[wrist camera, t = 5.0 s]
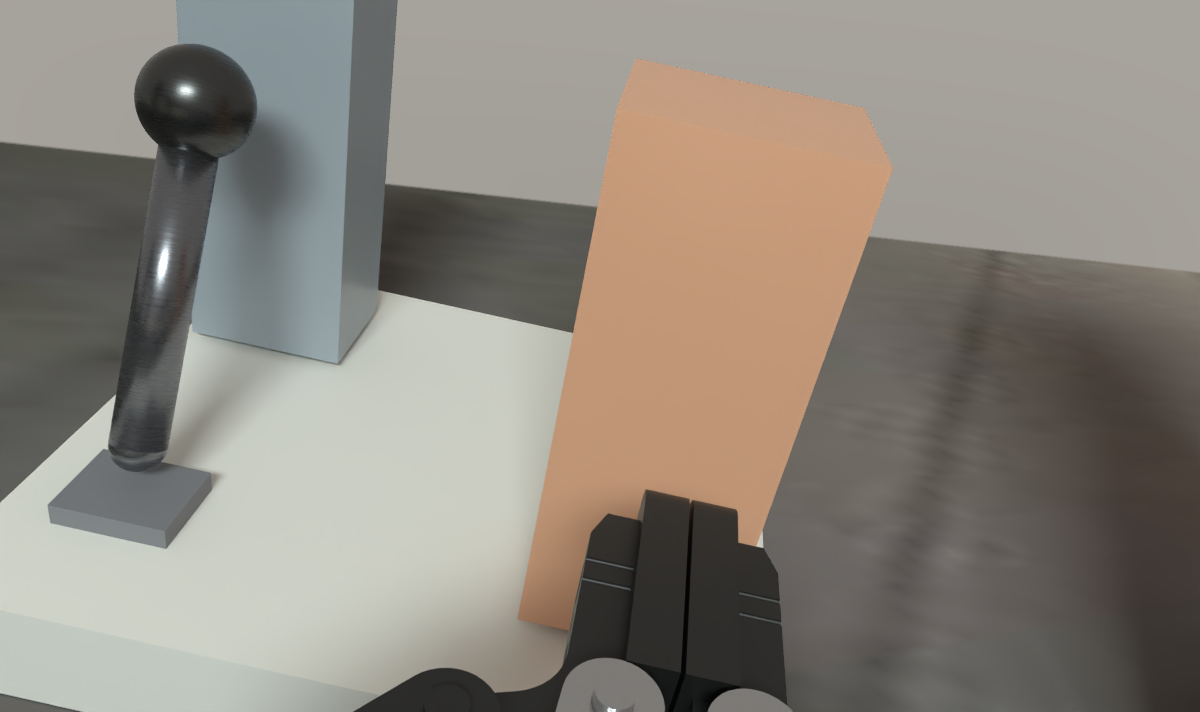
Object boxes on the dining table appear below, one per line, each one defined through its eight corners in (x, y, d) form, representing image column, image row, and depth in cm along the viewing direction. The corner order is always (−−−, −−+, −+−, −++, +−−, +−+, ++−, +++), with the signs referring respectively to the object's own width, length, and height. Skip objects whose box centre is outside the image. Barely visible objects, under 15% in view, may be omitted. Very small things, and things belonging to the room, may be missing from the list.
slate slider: (337, 363, 31) (356, -50, 24) (192, 331, 31) (172, -90, 25) (376, 309, 35) (402, -66, 28) (245, 281, 35) (240, -101, 28)
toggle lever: (159, 495, 23) (238, 44, 21) (47, 471, 23) (120, 18, 21) (211, 471, 25) (283, 70, 24) (111, 448, 25) (179, 47, 24)
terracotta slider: (714, 663, 23) (893, 168, 16) (517, 619, 23) (616, 107, 16) (715, 553, 26) (864, 108, 20) (544, 516, 27) (635, 58, 20)
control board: (740, 860, 22) (782, 768, 20) (-68, 677, 22) (-98, 569, 21) (734, 434, 38) (758, 360, 36) (256, 328, 38) (255, 249, 36)
